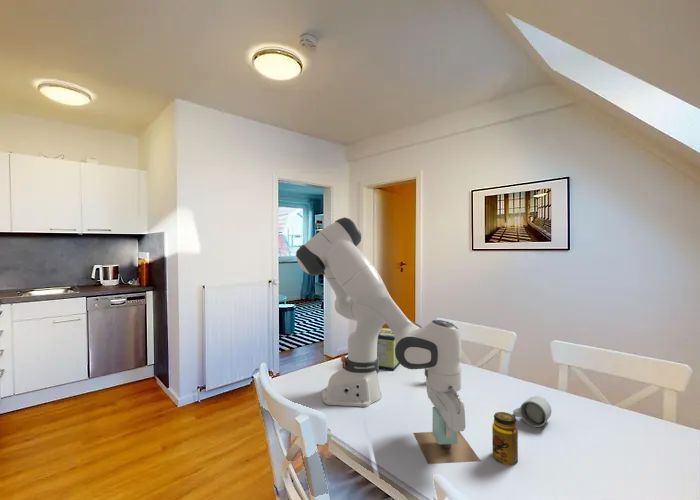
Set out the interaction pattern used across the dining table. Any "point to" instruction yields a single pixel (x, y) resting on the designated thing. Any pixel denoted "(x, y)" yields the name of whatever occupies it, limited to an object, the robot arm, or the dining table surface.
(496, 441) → the condiment
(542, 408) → the ceramic mug
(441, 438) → the mint green upright block
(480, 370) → the dining table surface
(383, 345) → the protein box
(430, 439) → the board
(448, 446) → the post
